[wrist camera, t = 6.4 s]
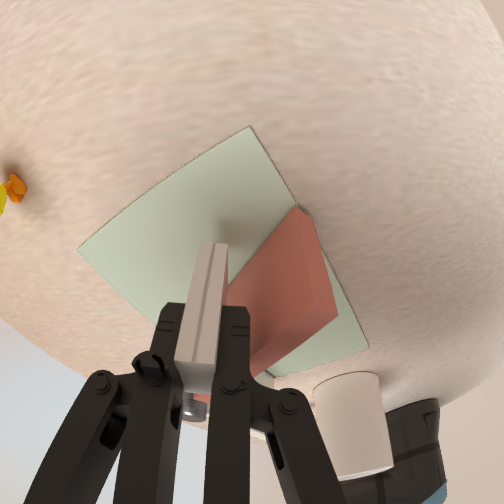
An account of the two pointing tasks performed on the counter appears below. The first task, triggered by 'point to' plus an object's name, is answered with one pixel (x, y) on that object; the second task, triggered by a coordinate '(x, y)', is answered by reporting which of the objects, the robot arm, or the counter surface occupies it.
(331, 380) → the mug
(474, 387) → the counter surface
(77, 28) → the counter surface
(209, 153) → the card
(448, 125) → the counter surface
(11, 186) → the toy figure
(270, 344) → the red panel
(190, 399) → the post
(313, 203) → the counter surface
